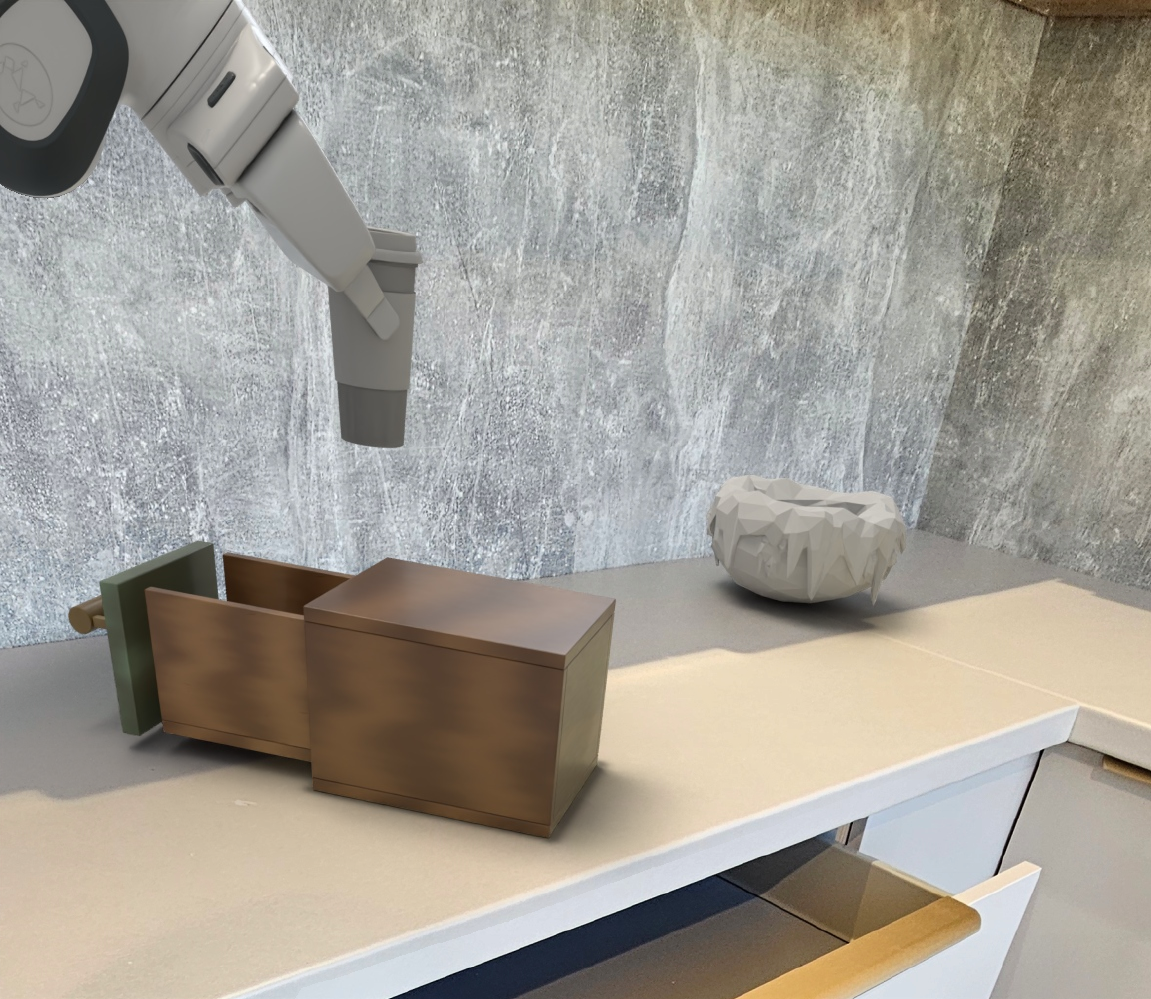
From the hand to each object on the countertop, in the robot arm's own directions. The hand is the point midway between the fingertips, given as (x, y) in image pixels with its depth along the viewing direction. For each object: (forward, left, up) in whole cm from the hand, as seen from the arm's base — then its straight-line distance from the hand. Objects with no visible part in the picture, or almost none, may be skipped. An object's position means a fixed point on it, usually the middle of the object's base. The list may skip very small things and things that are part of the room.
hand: (381, 325), depth 82 cm
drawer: (-2, -23, -20) cm, 31 cm away
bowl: (+30, +40, -21) cm, 54 cm away
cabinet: (+14, -23, -21) cm, 35 cm away
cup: (-1, 0, -7) cm, 7 cm away
